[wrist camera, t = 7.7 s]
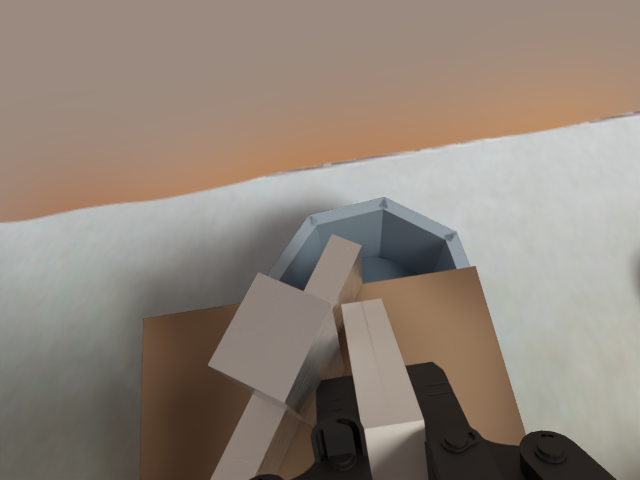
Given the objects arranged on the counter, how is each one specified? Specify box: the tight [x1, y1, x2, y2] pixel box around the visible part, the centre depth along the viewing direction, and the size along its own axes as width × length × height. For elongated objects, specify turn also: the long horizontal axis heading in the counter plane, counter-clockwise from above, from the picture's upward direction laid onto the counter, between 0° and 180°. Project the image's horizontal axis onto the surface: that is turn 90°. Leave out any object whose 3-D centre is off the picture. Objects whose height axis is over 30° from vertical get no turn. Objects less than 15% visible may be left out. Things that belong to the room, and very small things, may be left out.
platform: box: [140, 266, 526, 480], centre depth 23 cm, size 15×13×10 cm
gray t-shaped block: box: [208, 234, 362, 480], centre depth 15 cm, size 12×3×9 cm, turn 155°
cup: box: [267, 197, 470, 291], centre depth 28 cm, size 10×10×7 cm
